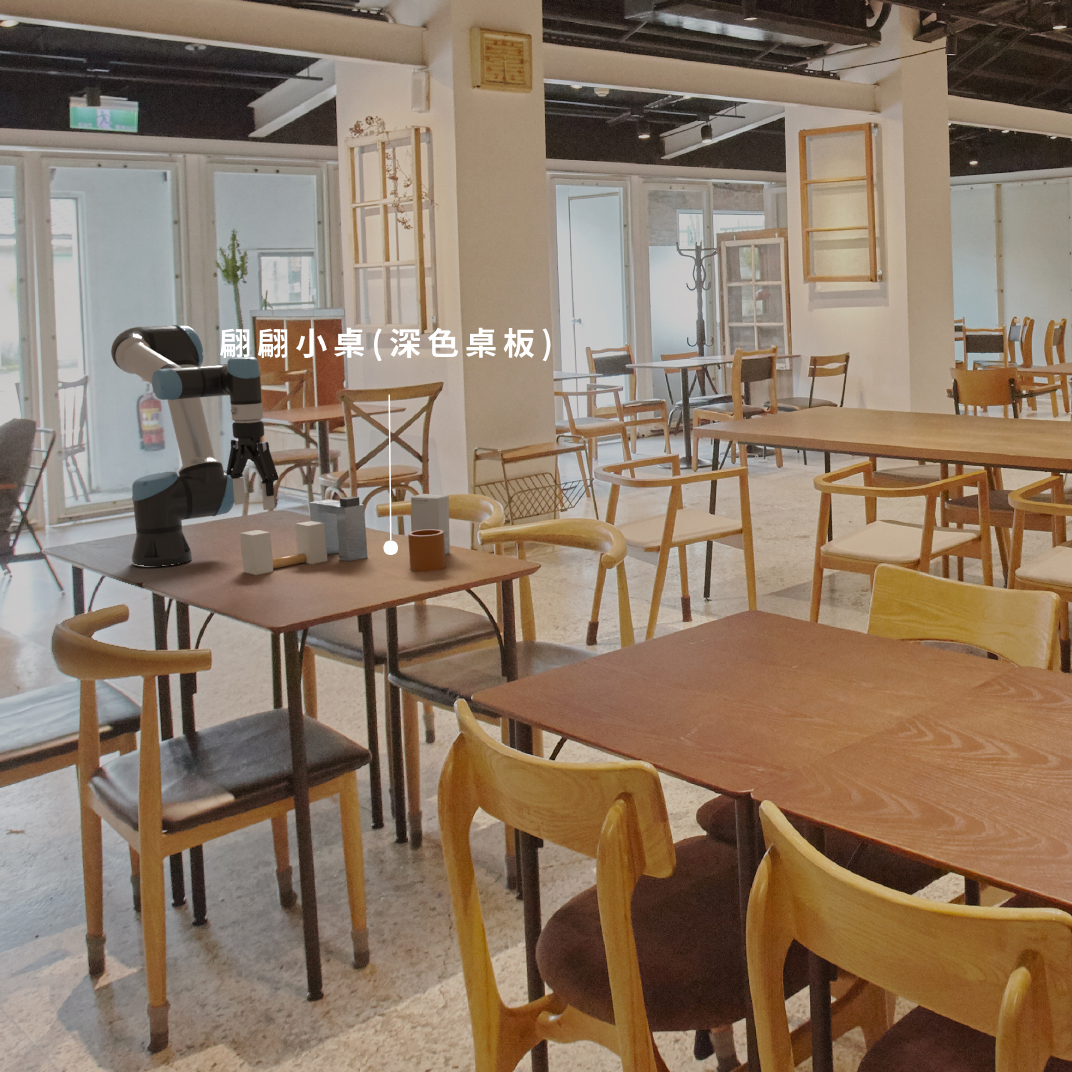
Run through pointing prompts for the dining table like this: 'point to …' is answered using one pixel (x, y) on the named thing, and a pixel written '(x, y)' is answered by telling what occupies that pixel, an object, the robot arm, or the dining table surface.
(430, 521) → the skincare box
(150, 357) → the robot arm
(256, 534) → the white block dumbbell
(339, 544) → the gray notched block
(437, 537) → the mug
